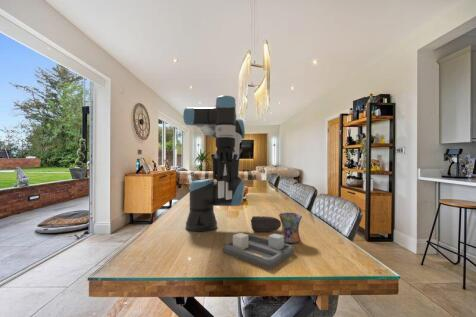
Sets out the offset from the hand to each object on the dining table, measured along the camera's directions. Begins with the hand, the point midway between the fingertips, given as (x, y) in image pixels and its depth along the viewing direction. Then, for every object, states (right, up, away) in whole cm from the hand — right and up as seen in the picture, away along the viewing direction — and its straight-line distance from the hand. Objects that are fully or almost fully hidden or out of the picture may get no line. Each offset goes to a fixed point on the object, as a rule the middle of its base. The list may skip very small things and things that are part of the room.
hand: (224, 198), depth 89 cm
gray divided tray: (+12, -19, -5) cm, 23 cm away
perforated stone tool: (+18, -19, +20) cm, 33 cm away
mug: (+27, -19, +9) cm, 34 cm away
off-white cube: (+6, -17, -5) cm, 19 cm away
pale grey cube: (+19, -17, -5) cm, 26 cm away
